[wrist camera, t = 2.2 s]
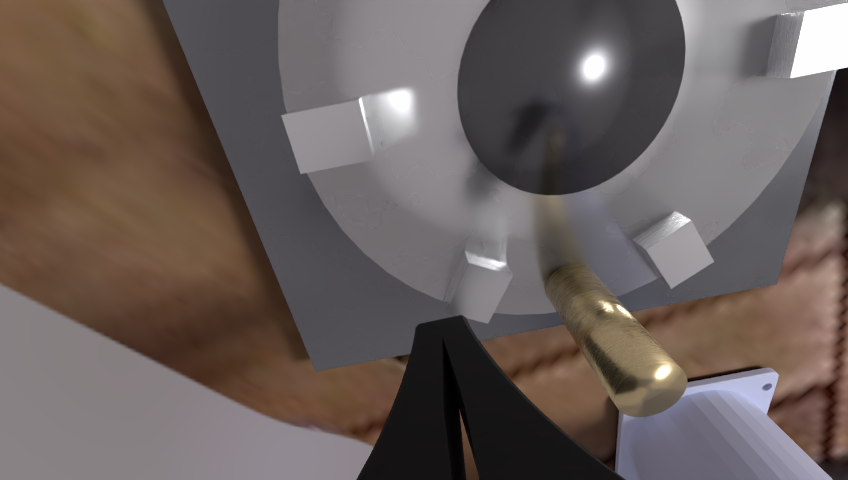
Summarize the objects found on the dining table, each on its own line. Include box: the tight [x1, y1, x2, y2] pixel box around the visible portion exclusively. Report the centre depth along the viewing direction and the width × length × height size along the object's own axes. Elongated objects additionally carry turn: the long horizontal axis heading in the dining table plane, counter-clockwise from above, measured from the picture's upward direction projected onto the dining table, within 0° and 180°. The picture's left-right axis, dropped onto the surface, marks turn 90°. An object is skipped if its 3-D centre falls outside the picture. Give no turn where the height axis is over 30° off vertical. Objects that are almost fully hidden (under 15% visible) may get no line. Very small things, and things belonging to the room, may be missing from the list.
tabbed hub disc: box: [278, 0, 848, 417], centre depth 9 cm, size 14×14×7 cm
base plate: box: [162, 0, 837, 372], centre depth 12 cm, size 20×20×1 cm
